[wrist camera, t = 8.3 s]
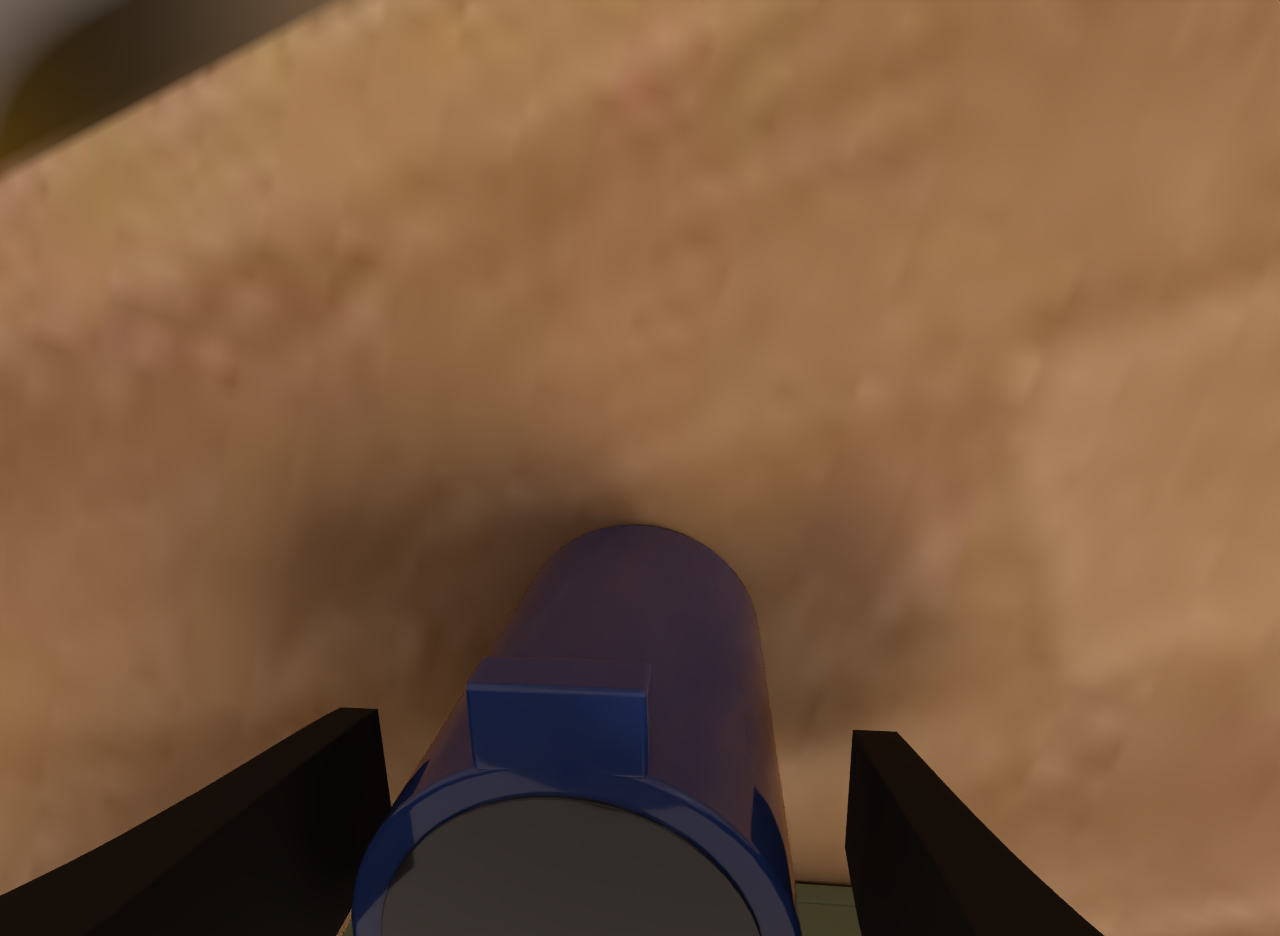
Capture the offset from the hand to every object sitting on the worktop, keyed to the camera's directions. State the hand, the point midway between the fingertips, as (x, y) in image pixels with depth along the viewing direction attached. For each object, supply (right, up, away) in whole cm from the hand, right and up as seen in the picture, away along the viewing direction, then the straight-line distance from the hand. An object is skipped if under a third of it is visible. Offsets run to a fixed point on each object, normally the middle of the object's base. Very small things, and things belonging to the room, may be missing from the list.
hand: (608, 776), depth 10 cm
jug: (0, +1, +4) cm, 4 cm away
